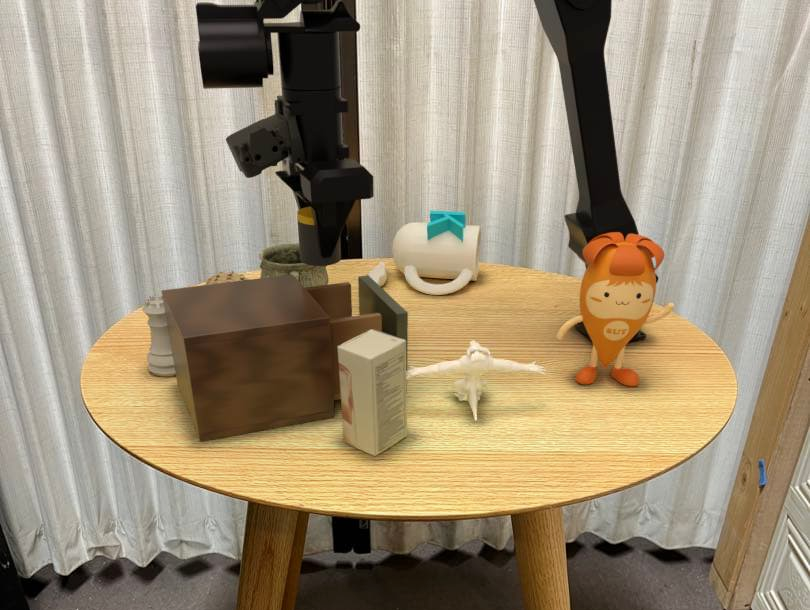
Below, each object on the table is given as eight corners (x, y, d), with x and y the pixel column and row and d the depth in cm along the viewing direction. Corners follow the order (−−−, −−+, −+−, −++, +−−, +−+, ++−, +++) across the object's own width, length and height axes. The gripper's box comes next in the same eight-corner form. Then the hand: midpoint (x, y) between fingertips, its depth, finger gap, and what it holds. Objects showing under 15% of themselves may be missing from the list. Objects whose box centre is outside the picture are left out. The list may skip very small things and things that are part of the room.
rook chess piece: (153, 381, 90) (140, 310, 85) (144, 365, 93) (130, 295, 88) (194, 373, 92) (183, 302, 87) (183, 357, 95) (172, 289, 90)
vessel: (332, 316, 105) (330, 267, 101) (262, 319, 104) (257, 270, 100) (326, 283, 114) (324, 237, 111) (262, 286, 113) (257, 239, 110)
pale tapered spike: (373, 271, 119) (373, 258, 117) (392, 272, 118) (392, 259, 117) (354, 310, 107) (353, 296, 106) (374, 311, 106) (374, 297, 105)
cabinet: (299, 367, 93) (292, 274, 87) (334, 417, 84) (329, 317, 77) (177, 386, 89) (161, 290, 82) (200, 441, 80) (183, 337, 73)
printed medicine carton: (374, 422, 83) (373, 327, 77) (408, 437, 81) (409, 339, 75) (339, 442, 80) (334, 344, 74) (373, 458, 77) (371, 358, 71)
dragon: (534, 374, 89) (549, 324, 82) (544, 429, 86) (561, 383, 79) (396, 379, 88) (399, 329, 81) (401, 436, 85) (405, 389, 78)
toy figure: (553, 388, 89) (571, 248, 80) (548, 357, 96) (565, 224, 87) (664, 393, 89) (694, 252, 80) (652, 361, 95) (679, 228, 86)
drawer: (379, 349, 95) (378, 273, 90) (417, 391, 86) (419, 310, 81) (262, 367, 91) (254, 289, 85) (291, 414, 82) (284, 330, 77)
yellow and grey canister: (333, 251, 92) (331, 204, 89) (346, 263, 88) (344, 215, 85) (295, 255, 90) (292, 208, 87) (306, 268, 87) (303, 219, 84)
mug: (394, 197, 113) (481, 202, 111) (398, 251, 121) (480, 256, 119) (379, 257, 107) (471, 263, 105) (385, 309, 115) (470, 315, 113)
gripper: (208, 76, 84) (227, 233, 93) (250, 108, 70) (267, 288, 79) (314, 71, 87) (322, 223, 97) (374, 100, 73) (376, 274, 83)
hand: (320, 250), depth 89 cm, fingers closed on yellow and grey canister, 4 cm apart
